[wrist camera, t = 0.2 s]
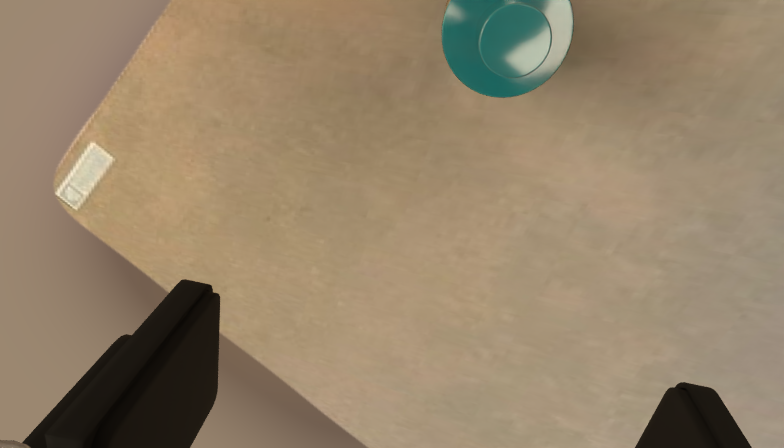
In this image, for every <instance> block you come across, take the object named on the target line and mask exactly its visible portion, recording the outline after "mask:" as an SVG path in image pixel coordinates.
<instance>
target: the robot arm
mask: <svg viewBox="0 0 784 448" xmlns="http://www.w3.org/2000/svg"><path fill="white" fill-rule="evenodd" d="M219 320H220V296H219V294H218V293H213V289H212V286H211V285H209V284H205V283H200V282H195V281H190V280H185V279H184V280H181V281H180V282H179V283H178V284H177V285H176V286H175V287H174V288H173V290H172V291H171V292H170V293H169V294H168V295H167V297H165V299H164V300H163V301H162V302H161V303H160V304H159V306H158V307H157V308H156V309H155V310H154V311H153V312H152V313H151V315H150V316H149V317H148V318H147V319H146V320H145V321H144V323H142V325H141V326H140V327H139V328H138V329H137V330H136V331H135V333H134V334H133V335H127V334H126V335H123V336H121V337H120V338H118V339H117V340H116V341H115V342H114V343H113V344H112V345H111V346H110V348H109V349H108V350H107V351H106V352H105V353H104V354H103V355H102V356H101V357H100V358H99V359H98V361H97V362H96V363H95V364H94V365H93V366H92V367H91V368H90V369H89V370H88V371H87V373H86V374H85V375H84V376H83V377H82V378H81V379H80V380H79V381H78V382H77V383H76V385H75V386H74V387H73V388H72V389H71V390H70V391H69V392H68V393H67V394H66V395H65V397H64V398H63V399H62V400H61V401H60V402H59V403H58V404H57V405H56V407H55V408H54V409H53V410H52V411H51V412H50V413H49V414H48V415H47V416H46V417H45V418H44V419H43V421H42V422H41V423H40V424H39V425H38V426H37V427H36V428H35V429H34V430H33V432H32V433H31V434H30V435H29V436H28V437H27V438H26V439H25V440H24V441H23V443H20V442H17V441H7V440H0V448H190V446H191V445H192V443H193V441H194V439H195V438H196V436H197V434H198V432H199V430H200V428H201V427H202V425H203V423H204V421H205V419H206V418H207V416H208V414H209V412H210V410H211V409H212V407H213V404H214V401H215V399H216V395H217V389H218V355H219ZM635 448H752V447H751V446H750V444H749V443H748V441H747V439H746V438H745V436H744V435H743V433H742V431H741V430H740V428H739V427H738V425H737V424H736V422H735V420H734V419H733V417H732V416H731V414H730V413H729V411H728V409H727V408H726V406H725V405H724V403H723V401H722V400H721V398H720V397H719V395H718V394H717V392H716V391H715V390H714V389H712V388H709V387H704V386H699V385H694V384H689V383H685V382H683V383H679V384H677V385H676V387H675V388H669V389H668V390H667V391H666V392H665V394H664V396H663V398H662V400H661V402H660V403H659V405H658V407H657V409H656V411H655V412H654V414H653V416H652V418H651V420H650V421H649V423H648V425H647V427H646V429H645V431H644V432H643V434H642V436H641V438H640V440H639V441H638V443H637V445H636V447H635Z"/></svg>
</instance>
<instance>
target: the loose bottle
mask: <svg viewBox="0 0 784 448" xmlns="http://www.w3.org/2000/svg"><path fill="white" fill-rule="evenodd" d="M573 30H574V17H573V10H572V5H571V2H570V0H447V3H446V8H445V13H444V18H443V24H442V45H443V51H444V54H445V57H446V60H447V62H448V64H449V66H450V68H451V70H452V71H453V73H454V74H455V75H456V77H457V78H458V79H459V80H460V81H461V82H462V83H463V84H465V85H466V86H467V87H469V88H470V89H472V90H474V91H476V92H478V93H480V94H483V95H486V96H491V97H500V98H505V97H514V96H519V95H522V94H525V93H528V92H530V91H532V90H534V89H536V88H537V87H539V86H540V85H542V84H543V83H544V82H546V81H547V80H548V79H549V78H550V77H551V76H552V75H553V74H554V73H555V72H556V71H557V69H558V68H559V67H560V65H561V64H562V62H563V60H564V59H565V57H566V55H567V53H568V50H569V48H570V44H571V41H572V36H573Z"/></svg>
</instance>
